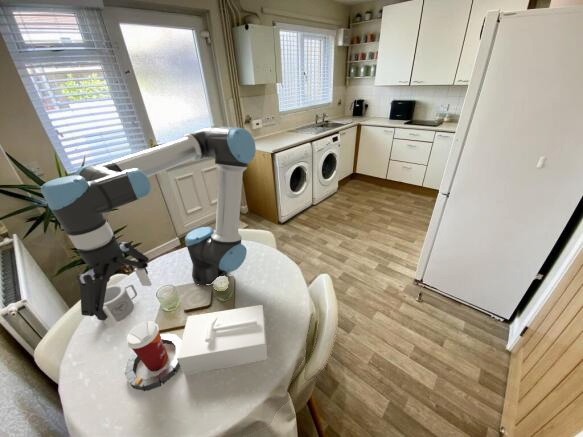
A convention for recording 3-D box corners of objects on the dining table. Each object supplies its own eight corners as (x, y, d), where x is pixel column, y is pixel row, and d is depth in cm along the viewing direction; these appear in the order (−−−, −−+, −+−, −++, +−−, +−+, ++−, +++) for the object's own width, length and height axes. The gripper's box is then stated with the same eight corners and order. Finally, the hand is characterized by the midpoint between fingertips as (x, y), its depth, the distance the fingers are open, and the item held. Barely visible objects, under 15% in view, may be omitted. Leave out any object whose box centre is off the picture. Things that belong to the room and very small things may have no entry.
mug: (110, 329, 87) (98, 310, 82) (97, 317, 92) (85, 298, 87) (146, 303, 97) (137, 285, 92) (132, 293, 102) (123, 275, 97)
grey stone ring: (185, 332, 84) (183, 326, 83) (183, 377, 71) (180, 372, 70) (134, 348, 80) (131, 342, 79) (122, 399, 67) (118, 394, 65)
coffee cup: (176, 360, 76) (162, 330, 69) (149, 381, 71) (130, 351, 63) (165, 344, 81) (150, 314, 74) (139, 363, 76) (120, 333, 68)
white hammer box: (194, 332, 85) (186, 311, 79) (265, 321, 87) (261, 300, 82) (184, 375, 72) (174, 353, 67) (267, 360, 75) (264, 338, 70)
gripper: (121, 215, 68) (148, 271, 79) (25, 278, 47) (80, 343, 57) (145, 215, 67) (169, 272, 78) (57, 280, 46) (107, 346, 56)
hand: (131, 303), depth 68 cm, fingers open, 13 cm apart
